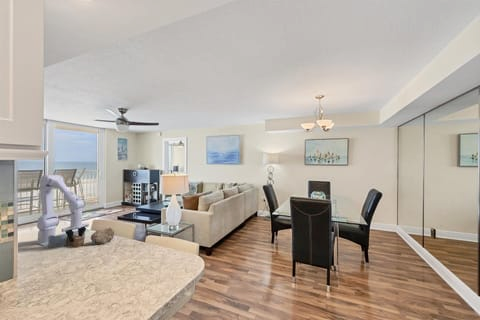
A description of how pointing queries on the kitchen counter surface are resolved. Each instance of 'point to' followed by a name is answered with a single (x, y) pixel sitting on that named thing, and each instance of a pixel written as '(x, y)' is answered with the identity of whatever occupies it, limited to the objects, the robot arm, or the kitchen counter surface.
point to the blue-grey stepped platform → (60, 239)
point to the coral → (103, 235)
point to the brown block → (76, 241)
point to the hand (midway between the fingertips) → (75, 240)
